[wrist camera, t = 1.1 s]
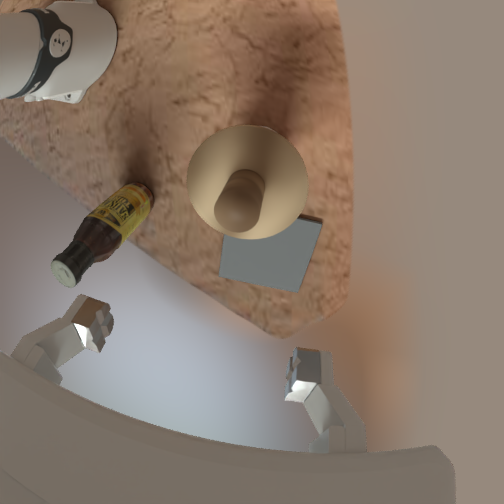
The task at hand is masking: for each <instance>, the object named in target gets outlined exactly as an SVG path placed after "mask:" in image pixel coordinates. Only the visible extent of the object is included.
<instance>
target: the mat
mask: <svg viewBox="0 0 504 504" xmlns="http://www.w3.org/2000/svg"><path fill="white" fill-rule="evenodd" d="M321 227H322V223H321V222H317V221H313V220H309V219H304V218H300V217H298V218H297V219H296V220H295V221H294V222H293V223H292V224H291V225H290V226H289V227H287V228H286V229H285V230H283V231H281V232H280V233H277V234H275V235H273V236H270V237H266V238H261V239H240V238H235V237H231V236H228V235H226V234H224V240H223V247H222V255H221V262H220V270H219V277H223V278H228V279H233V280H237V281H242V282H247V283H252V284H257V285H262V286H266V287H271V288H276V289H281V290H287V291H292V292H297V293H298V290H299V288H300V285H301V283H302V280H303V277H304V274H305V272H306V269H307V266H308V264H309V261H310V258H311V255H312V253H313V250H314V247H315V244H316V241H317V238H318V236H319V233H320V230H321Z"/></svg>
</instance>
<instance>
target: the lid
mask: <svg viewBox="0 0 504 504" xmlns="http://www.w3.org/2000/svg"><path fill="white" fill-rule="evenodd" d="M187 190H188V194H189V198H190V200H191V203H192V205H193V207H194V208H195V210H196V211H197V213H198V214H199V216H200V217H201V218H202V219H203V220H204V221H205V222H206V223H207V224H209V225H210V226H211V227H213V228H214V229H216V230H217V231H219V232H221V233H223V234H226V235H228V236H231V237H235V238H240V239H261V238H266V237H270V236H273V235H275V234H277V233H280V232H281V231H283V230H285V229H286V228H287V227H289V226H290V225H291V224H292V223H293V222H294V221H295V220H296V219H297V218H298V216H299V215H300V213H301V212H302V210H303V208H304V206H305V203H306V200H307V195H308V176H307V171H306V167H305V164H304V162H303V159H302V157H301V156H300V154H299V152H298V151H297V149H296V148H295V147H294V146H293V145H292V144H291V143H290V142H289V141H288V140H287V139H286V138H284V137H283V136H282V135H280V134H278V133H277V132H275V131H273V130H270V129H268V128H265V127H261V126H256V125H236V126H231V127H228V128H225V129H222V130H220V131H218V132H216V133H215V134H213V135H211V136H210V137H209V138H208V139H207V140H205V141H204V142H203V143H202V144H201V145H200V146H199V147H198V149H197V150H196V151H195V153H194V155H193V156H192V159H191V161H190V163H189V167H188V171H187Z"/></svg>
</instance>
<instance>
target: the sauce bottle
mask: <svg viewBox="0 0 504 504" xmlns="http://www.w3.org/2000/svg"><path fill="white" fill-rule="evenodd" d="M153 204H154V199H153V195H152V193H151V192H150V190H149V189H148V188H147V187H146V186H144V185H143V184H140V183H130V184H127V185H125V186H123V187H122V188H121V189H119V190H118V191H117V192H115V193H114V194H113V195H112V196H110V197H109V198H108V199H107V200H105V201H104V202H103V203H102V204H100V205H99V206H98V207H97V208H96V209H95V210H93V211H92V212H91V213H90V214H89V215H88V216H86V217H85V218H84V220H83V222H82V223H81V225H80V227H79V229H78V230H77V232H76V234H75V235H74V239H73V241H72V242H71V243H70V245H69V246H68V247H67V248H66V249H65V250H64V251H63V252H62V253H61V254H58V255H57V256H56V257H55V258H54V259H53V261H52V263H51V269H52V272H53V274H54V276H55V277H56V279H57V280H58V281H59V282H60V283H61V284H63V285H64V286H66V287H69V288H73V287H74V286H76V285H77V283H79V281H80V280H81V277H82V275H83V274H84V272H85V271H86V270H87V269H88V268H89V267H91V265H92V264H93V263H96V262H101V261H104V260H106V259H108V258H109V257H110V256H111V254H113V253H114V251H115V250H116V249H118V248H119V247H120V246H121V244H122V243H123V242H124V241H125V240H126V239H127V238H128V237H129V235H130V234H131V233H132V232H133V231H134V230H135V229H136V228H137V227H138V226H139V224H140V223H141V222H142V221H143V220H144V219H145V218H146V217H147V216H148V214H149V213H150V211H151V210H152V208H153Z"/></svg>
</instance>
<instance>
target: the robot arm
mask: <svg viewBox="0 0 504 504" xmlns="http://www.w3.org/2000/svg"><path fill="white" fill-rule="evenodd" d="M116 41H117V29H116V24H115V21H114V19H113V17H112V16H111V14H110V13H109V12H108V11H107V10H105V9H103V8H102V7H100V6H99V5H98V4H97V1H96V0H75V1H55V2H54V3H53V4H51V5H49V6H48V7H46V8H45V9H42V8H33V9H26V10H23V11H20V12H19V13H2V14H0V100H1V99H3V98H8V99H12V98H18V97H23V96H25V99H24V100H25V102H30V101H35V100H36V101H42V100H44V99H52V100H58V101H63V102H68V103H78V102H80V101H81V99H82V98H83V96H84V94H85V92H86V90H87V89H88V87H89V86H90V85H91V84H93V83H94V82H95V81H96V80H97V79H98V78H99V77H100V76H101V75H102V74H103V72H104V71H105V70H106V68H107V67H108V65H109V63H110V61H111V59H112V57H113V54H114V51H115V47H116ZM70 94H71V97H70ZM110 309H111V308H110V305H109V304H108V303H105V302H102V301H99V300H96V299H94V298H91V297H88V296H85V295H82V294H80V295H79V296H77V298H76V299H75V301H74V302H73V303H72V305H71V306H70V308H69V309H68V310H67V312H66V313H65V315H64V316H63V318H58V319H56V320H54V321H52V322H50V323H48V324H46V325H44V326H42V327H41V328H38V329H36V330H35V331H33V332H31V333H29V334H27V335H25V336H23V337H22V339H21V340H20V342H19V343H18V345H17V346H16V348H15V349H14V351H13V353H12V354H11V356H9V355H8V354H6V353H5V352H3V351H2V350H0V504H455V502H456V484H455V471H454V466H453V464H452V463H451V461H450V460H449V459H448V458H447V456H446V455H445V454H444V453H443V452H442V451H441V450H440V449H439V448H438V447H437V446H434V445H430V446H423V447H416V448H409V449H401V450H392V451H381V452H367V449H366V448H367V447H366V430H365V424H364V423H363V421H362V420H361V419H360V417H359V416H358V414H357V413H356V412H355V410H354V409H353V407H352V406H351V405H350V403H349V402H348V400H347V399H346V398H345V396H344V395H343V393H342V392H341V391H340V389H339V388H338V386H335V385H334V381H333V363H332V354H331V352H327V351H319V350H315V349H306V348H299V347H296V348H295V349H294V351H293V357H290V359H289V362H288V365H287V370H286V379H287V380H288V382H287V384H286V386H285V396H284V400H288V401H296V402H302V403H303V404H304V406H305V408H306V410H307V412H308V414H309V416H310V418H311V420H312V422H313V423H314V425H315V427H316V429H317V431H318V433H319V435H320V436H319V437H317V438H316V439H315V440H313V441H312V442H311V443H310V444H309V449H308V452H292V451H281V450H270V449H263V448H255V447H247V446H242V445H235V444H230V443H225V442H219V441H214V440H210V439H205V438H201V437H197V436H192V435H188V434H184V433H181V432H177V431H173V430H170V429H166V428H163V427H160V426H156V425H153V424H150V423H147V422H144V421H141V420H138V419H135V418H133V417H130V416H127V415H124V414H122V413H119V412H117V411H114V410H112V409H109V408H107V407H104V406H102V405H100V404H97V403H95V402H92V401H90V400H88V399H86V398H84V397H82V396H80V395H77V394H75V393H73V392H71V391H69V390H67V389H65V388H63V387H61V386H59V385H60V383H61V381H62V376H61V374H60V373H59V371H58V370H57V368H59V367H60V366H61V365H63V364H64V363H66V362H67V361H68V360H70V359H71V358H73V357H74V356H75V355H77V354H78V353H79V352H81V351H82V350H84V349H85V348H87V349H89V350H92V351H95V352H98V353H100V352H101V350H102V348H103V346H104V344H105V337H107V336H109V335H110V333H111V331H112V329H113V325H114V319H113V316H112V314H110V312H109V311H110Z"/></svg>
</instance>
